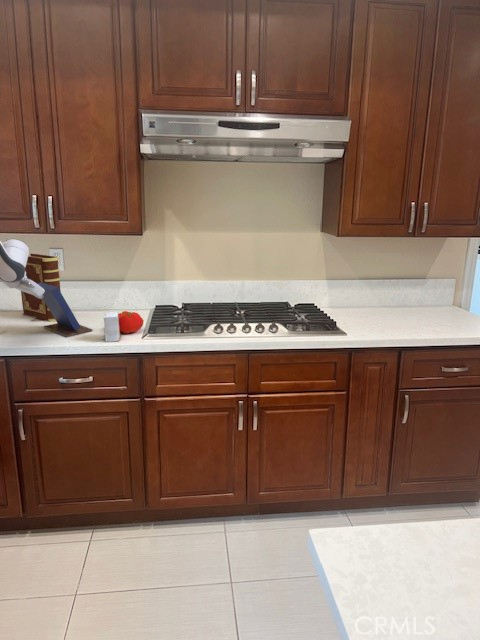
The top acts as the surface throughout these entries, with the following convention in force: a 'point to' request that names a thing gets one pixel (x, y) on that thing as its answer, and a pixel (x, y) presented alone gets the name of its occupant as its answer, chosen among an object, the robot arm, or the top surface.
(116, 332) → the small box
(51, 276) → the decorative book
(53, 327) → the brown flat board
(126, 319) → the tomato
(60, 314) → the book
